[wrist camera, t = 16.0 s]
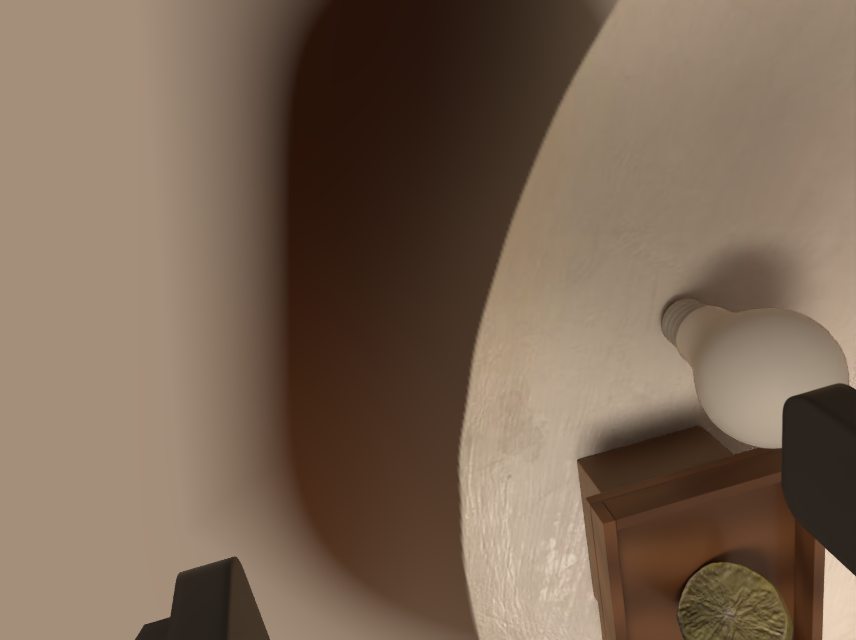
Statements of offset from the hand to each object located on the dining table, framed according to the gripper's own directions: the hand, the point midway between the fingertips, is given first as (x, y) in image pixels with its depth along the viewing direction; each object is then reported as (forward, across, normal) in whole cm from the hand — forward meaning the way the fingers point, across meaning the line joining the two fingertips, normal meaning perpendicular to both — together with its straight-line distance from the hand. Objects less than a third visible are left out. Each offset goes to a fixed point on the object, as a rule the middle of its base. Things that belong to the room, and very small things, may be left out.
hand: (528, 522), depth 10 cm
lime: (+18, -13, +23) cm, 32 cm away
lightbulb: (+25, -16, +11) cm, 31 cm away
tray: (+24, -13, +23) cm, 36 cm away
